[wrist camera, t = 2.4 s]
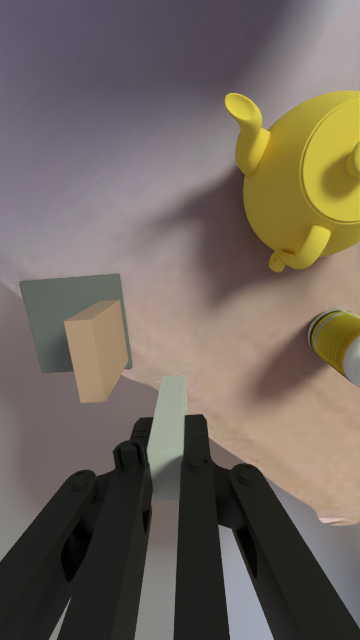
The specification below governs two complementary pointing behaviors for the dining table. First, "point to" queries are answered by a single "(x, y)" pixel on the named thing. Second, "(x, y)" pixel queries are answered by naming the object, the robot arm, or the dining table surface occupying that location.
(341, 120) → the teapot
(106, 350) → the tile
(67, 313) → the mat
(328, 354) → the pill bottle
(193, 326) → the dining table surface
